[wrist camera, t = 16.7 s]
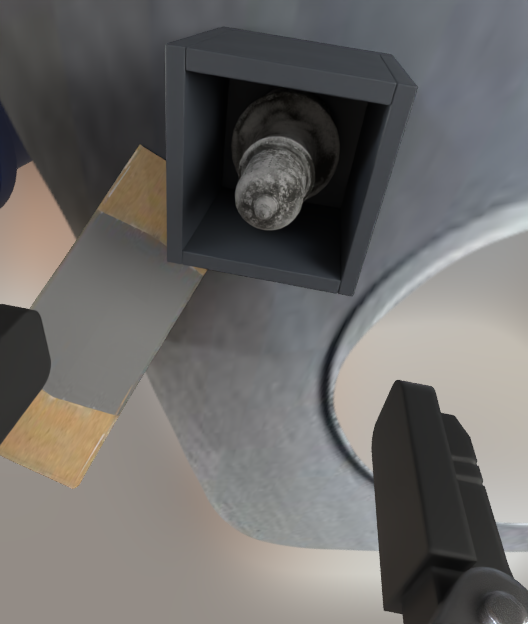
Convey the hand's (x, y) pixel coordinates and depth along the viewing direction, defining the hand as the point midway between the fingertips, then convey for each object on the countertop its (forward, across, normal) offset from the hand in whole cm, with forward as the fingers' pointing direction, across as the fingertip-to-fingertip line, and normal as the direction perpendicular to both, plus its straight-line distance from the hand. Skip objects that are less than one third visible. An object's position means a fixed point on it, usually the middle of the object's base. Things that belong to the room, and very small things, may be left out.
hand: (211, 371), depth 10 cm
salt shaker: (+21, 0, 0) cm, 21 cm away
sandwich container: (+22, +9, +11) cm, 26 cm away
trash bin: (+22, 0, 0) cm, 22 cm away
